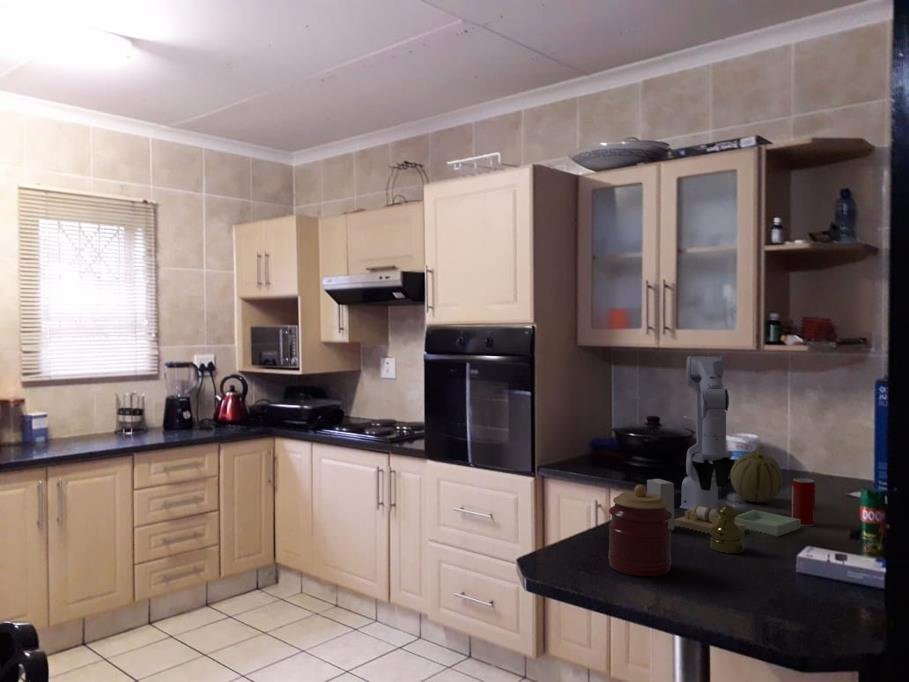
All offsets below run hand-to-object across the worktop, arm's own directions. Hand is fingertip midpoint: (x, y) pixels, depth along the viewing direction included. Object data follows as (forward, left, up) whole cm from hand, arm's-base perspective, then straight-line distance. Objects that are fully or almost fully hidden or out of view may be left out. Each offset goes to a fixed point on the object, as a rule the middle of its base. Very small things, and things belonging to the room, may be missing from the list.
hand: (713, 488), depth 178 cm
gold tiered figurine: (+11, -13, -11) cm, 20 cm away
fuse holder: (-1, 0, -11) cm, 10 cm away
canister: (+6, -40, -11) cm, 42 cm away
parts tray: (+7, +13, -11) cm, 18 cm away
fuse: (-1, 0, -9) cm, 9 cm away
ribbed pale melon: (-8, +38, -11) cm, 40 cm away
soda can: (+12, +24, -11) cm, 29 cm away
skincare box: (-9, -10, -11) cm, 17 cm away
